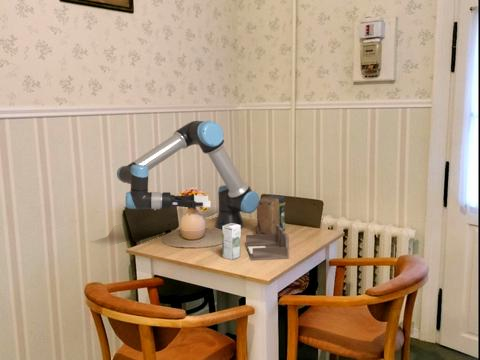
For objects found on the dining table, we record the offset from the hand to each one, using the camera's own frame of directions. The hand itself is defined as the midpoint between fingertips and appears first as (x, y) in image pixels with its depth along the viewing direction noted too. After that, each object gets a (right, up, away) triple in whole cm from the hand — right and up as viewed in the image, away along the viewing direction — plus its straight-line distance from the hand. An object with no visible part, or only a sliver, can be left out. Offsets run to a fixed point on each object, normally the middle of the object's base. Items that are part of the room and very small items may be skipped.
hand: (209, 201), depth 202 cm
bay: (+25, -23, -1) cm, 34 cm away
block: (+28, -19, +22) cm, 41 cm away
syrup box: (+10, -24, -8) cm, 28 cm away
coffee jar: (+33, -17, +37) cm, 52 cm away
